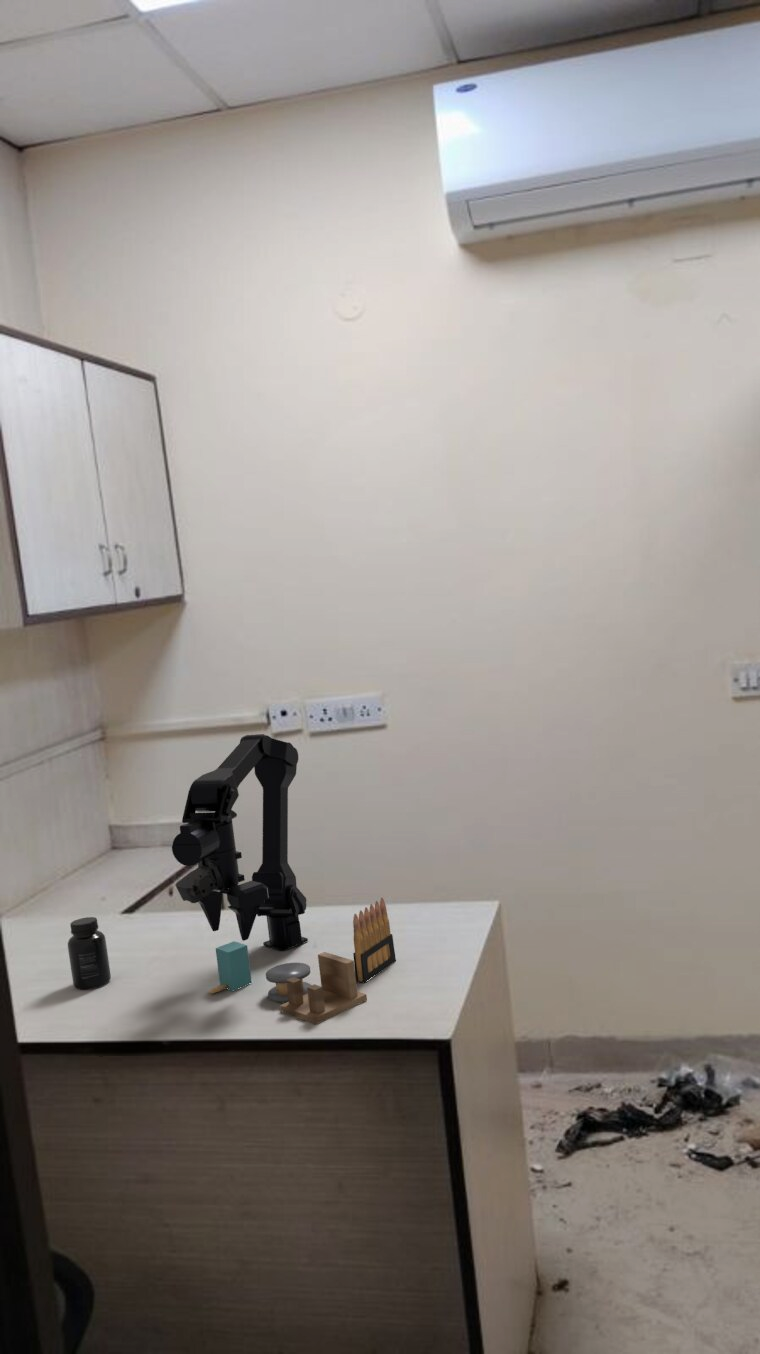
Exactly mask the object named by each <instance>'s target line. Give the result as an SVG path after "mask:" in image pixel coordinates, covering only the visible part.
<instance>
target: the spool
mask: <svg viewBox="0 0 760 1354" xmlns="http://www.w3.org/2000/svg"><path fill="white" fill-rule="evenodd" d="M310 974H311V967H310V965H309V964H307V963H303V962H286V963H282V964H279V965H275V966H273V967H271V968H269V969H267V970H266V972H265V979H266V981H267V982H269V983H274V984H275V986H273V987H271V989H269V991H268V993H267V994H268V995H267V997H268V1000H269V1001H271V1002H273V1003H277V1002H278V1004H284V1003H287V1002H289V1000H288V991H287V983H286V980H288V979H290V978H292V977H294V978H297V979H300V980H301V985H302V993H303V995H305V994H307V993H308V991H307V987H309V986H311V985H312V984H311V983H308V982H306V981H304V980H303V979H305V978H307V977H308V976H309V975H310Z"/></svg>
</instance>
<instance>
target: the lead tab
mask: <svg viewBox="0 0 760 1354" xmlns="http://www.w3.org/2000/svg"><path fill="white" fill-rule="evenodd" d="M215 955H216V963H217V970H218V978H219V979H218V980H219V985H218V986H215V987H213V988H210V989H209V994H210V995H214V994H216V993H218V992H221V991H223V990H225V989H226V988H228V989H230V990H229V991H231V990H235V991H237V990H239V989H238V988H240V987H242V988H244V987H243V986H245V985H247V984H249V983H252V984H253V982H252V974H251V966H250V960H249V959H250V958H249V957H250V956H249V950H248V944H245V943H241V942H237V941H232V942H228V943H226V944H223V945H220V946H218V947H215ZM247 986H248V985H247ZM245 987H246V986H245ZM228 989H226V990H228ZM236 989H237V990H236ZM240 989H241V988H240Z"/></svg>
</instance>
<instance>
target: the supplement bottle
mask: <svg viewBox="0 0 760 1354" xmlns="http://www.w3.org/2000/svg"><path fill="white" fill-rule="evenodd" d="M99 928H100V927H99V923H98V919H97V917H96V916H89V917H88V916H87V917H82V918H78V919H75V920H73V921H71V923H70V934H71V937H70V938H69V939H68V941H67V950H68V958H69V965H70V971H71V978H72V985H73V987H74V988H75V989H77V990H81V991H88V990H93V989H97V988H101V987H103V986H106V985H107V984H109V982H110V981H111V978H112V974H111V968H110V961H109V960H110V959H109V954H108V947H107V945H108V944H107V939H106V935H105V934H104V933H103V932H102V931H99Z"/></svg>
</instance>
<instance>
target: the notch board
mask: <svg viewBox="0 0 760 1354" xmlns="http://www.w3.org/2000/svg"><path fill="white" fill-rule="evenodd" d="M317 959H318V960H317V961H318V967H319V976H320V985H321V986H320V985H318V984H311V986H309V987H307V991H308V993H307V994H305V995H303V993H302V985H301V980H300V979H297V978H294V977H292V978H290V979H288V980H286V983H287V991H288V1000H289V1002H287V1003H281V1004H280V1005H279V1007H280V1012H282V1013H285V1014H287V1015H290V1016H292V1017H295V1018H298V1019H300V1020H303V1021H305V1022H309V1023H310V1024H314V1025H317V1024H319V1023H322V1022H324V1021H326V1020H328V1019H330V1018H332V1017H334V1016H337V1015H339V1014H341V1013H342V1012H345V1011H347V1010H349V1009H351V1008H354V1007H356V1006H357V1004H358V1005H360V1004H362V1003H364V1002H366V1001H367V1000H368V997H367V993H364V992H361V991H358V988H357V987H358V986H357V982H356V977H355V966H354V959H349V958H346V957H343V956H341V955H340V956H339V955H337V954H333V953H329V952H327V951H324V952H322V953H319V954H317ZM365 1000H366V1001H365ZM363 1001H364V1002H363ZM361 1002H362V1003H361ZM359 1003H360V1004H359ZM355 1005H356V1006H355Z"/></svg>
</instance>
